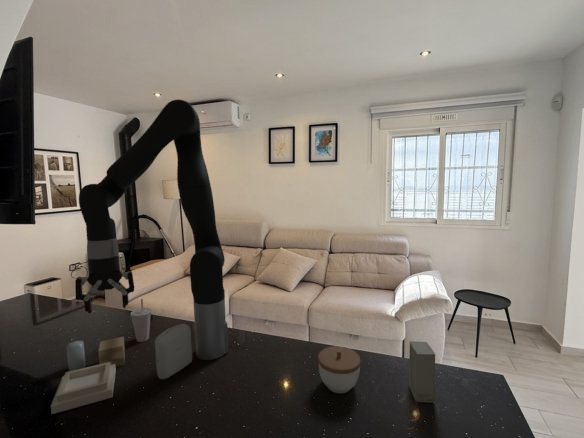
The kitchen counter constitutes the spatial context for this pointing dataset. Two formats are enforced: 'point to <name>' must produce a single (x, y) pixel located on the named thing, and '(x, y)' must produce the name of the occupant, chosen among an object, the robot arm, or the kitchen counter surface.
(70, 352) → the grey post
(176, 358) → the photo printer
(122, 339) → the oak block
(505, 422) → the kitchen counter surface
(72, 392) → the cream base
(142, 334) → the smoothie
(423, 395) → the skincare box
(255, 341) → the kitchen counter surface
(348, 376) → the lidded jar
